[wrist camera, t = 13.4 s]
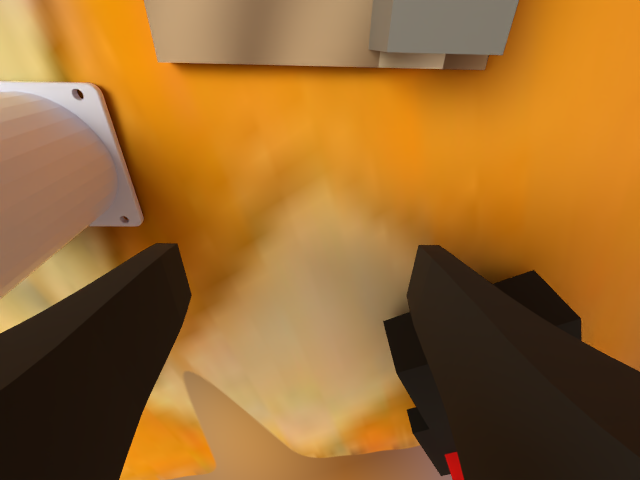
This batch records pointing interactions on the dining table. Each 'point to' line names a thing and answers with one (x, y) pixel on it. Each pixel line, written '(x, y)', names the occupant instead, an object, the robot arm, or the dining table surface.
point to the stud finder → (441, 26)
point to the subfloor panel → (281, 35)
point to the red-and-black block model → (420, 382)
